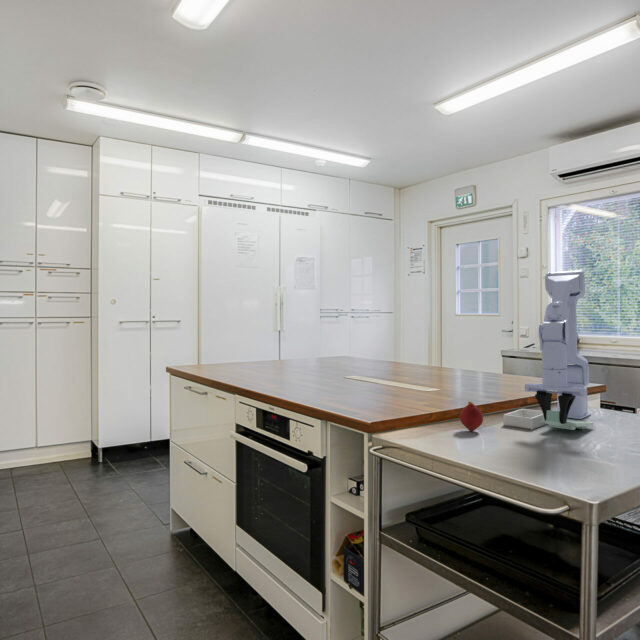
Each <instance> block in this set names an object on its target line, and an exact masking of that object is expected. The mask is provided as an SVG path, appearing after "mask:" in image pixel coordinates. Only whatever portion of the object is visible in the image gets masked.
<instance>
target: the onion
mask: <svg viewBox="0 0 640 640" xmlns="http://www.w3.org/2000/svg"><path fill="white" fill-rule="evenodd" d="M459 418H460V423H461V424H462V426H464V427H465V428H466V429H467V430H468V431H469V432H474V431H475V430H477V429H478V428H479V427H481V425H482V423H483V421H484V415H483V412H482V411H481V409H480V408H479V407H478V406H476V405H475V404H474V403H473V402H472V401H470V400H469V401H468V402H467V405H465V407H463V408H462V409H461V412H460V413H459Z"/></svg>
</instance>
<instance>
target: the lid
mask: <svg viewBox="0 0 640 640" xmlns="http://www.w3.org/2000/svg"><path fill="white" fill-rule="evenodd" d="M541 422H545V425H548V427H551V428H557V429H563V430H564V429H565V430H570V431H572V430H573V431H574V430H576V429H579V430H585V429H586V427H593V426H594V422H591V421H583V420H577V419H576V420H575V419H569V418H567V421H566V423H565V424H561V423H560V411H558V410H553V409H551V410H547V415H546V420H545V419H541Z"/></svg>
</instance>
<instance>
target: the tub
mask: <svg viewBox="0 0 640 640" xmlns="http://www.w3.org/2000/svg"><path fill="white" fill-rule="evenodd" d="M502 418H503V419H502V420H503V426H506V427H511V428H512V427H513V428H518V429H523V430H524V429H525V430H531V431H532V430H535V429H538V428H540V427H543V426H545V425H546V424H545V422H541V419H544V415H543V412H542V410H536V409H528V408H520V409H517V410H514V411H511V412H507V413H504V414H503V417H502Z"/></svg>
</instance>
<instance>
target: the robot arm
mask: <svg viewBox="0 0 640 640" xmlns="http://www.w3.org/2000/svg"><path fill="white" fill-rule="evenodd" d="M585 275H586V274H585V272H584V271H583V270H582V269H579V270H565V271H548V272H547V273H545V277H544V286H545V292H546V293H547V294H548V296H549V297H550V299H551V302H550V303H549V304H548V305H546V308H545V311H544V318H543V321H542V323H539V326H538V340H539V348H540V351H541V366H542V367H541V373H542V374H541V375H542V376H541V378H542V379H541V381H542V382H541V383H531V382H530V383H524V392H535V393H536V394H534V398H535V399H536V401H537V403H538V404H539V407H540V409H541V411H542V412H543V415H544V419H545V420H546V415H547V410H552V397H553V394H556V398H557V399H556V401H557V403H556V404H557V411H560V423H561V424H565V423H566V421H567V419H573V420H575V419H576V420H581V419H585V418H586V417H588V416H591V415H592V412H588V407H589V406H588V388H587V386H588V385H589V384H590V368H589V360H588V359H587V358H586V357H584V356H583V355H581V354H580V353H579V352H578V327H577V325H578V323H577V303H578V301H579V299H581V298H584V297H585V294H586V277H585Z"/></svg>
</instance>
